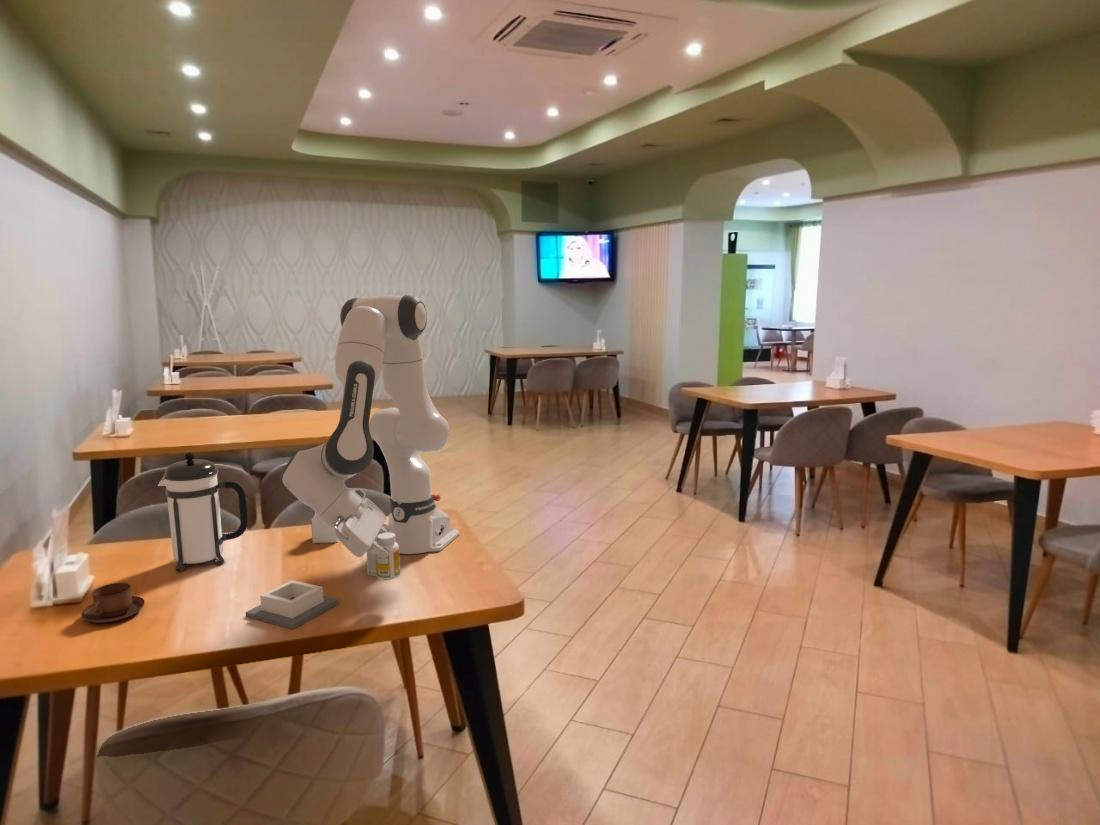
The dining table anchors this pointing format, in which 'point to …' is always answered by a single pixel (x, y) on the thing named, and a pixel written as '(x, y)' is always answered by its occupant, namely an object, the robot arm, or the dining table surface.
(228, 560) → the dining table surface
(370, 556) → the skincare box
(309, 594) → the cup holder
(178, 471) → the coffee press
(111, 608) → the cup and saucer
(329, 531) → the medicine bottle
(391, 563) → the supplement bottle
